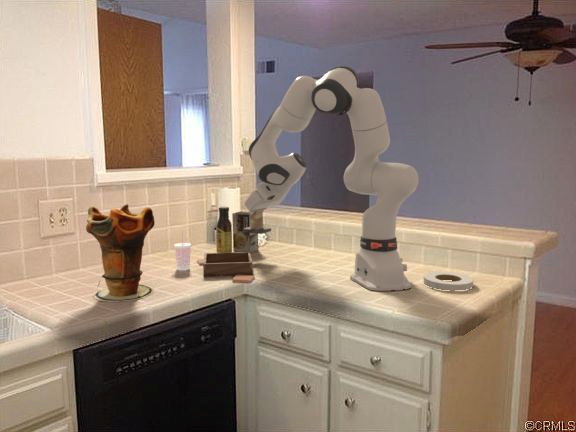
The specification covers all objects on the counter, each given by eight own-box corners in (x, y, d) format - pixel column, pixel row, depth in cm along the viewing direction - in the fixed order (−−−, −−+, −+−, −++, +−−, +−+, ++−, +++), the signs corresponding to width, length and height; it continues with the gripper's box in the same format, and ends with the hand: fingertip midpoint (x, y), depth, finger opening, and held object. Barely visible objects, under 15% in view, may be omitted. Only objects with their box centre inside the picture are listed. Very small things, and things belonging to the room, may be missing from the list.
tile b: (250, 284, 170) (250, 280, 170) (232, 283, 171) (232, 279, 171) (254, 279, 176) (254, 275, 176) (237, 278, 177) (237, 274, 177)
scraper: (271, 231, 202) (270, 205, 200) (261, 233, 197) (260, 207, 195) (252, 229, 207) (252, 204, 205) (242, 231, 202) (241, 206, 200)
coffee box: (258, 250, 219) (258, 212, 217) (249, 253, 214) (249, 214, 211) (241, 247, 224) (241, 210, 222) (232, 250, 219) (231, 212, 216)
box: (252, 275, 179) (252, 262, 179) (203, 276, 177) (203, 264, 176) (249, 263, 196) (249, 251, 195) (204, 265, 194) (204, 253, 193)
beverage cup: (194, 266, 191) (192, 229, 189) (189, 271, 185) (188, 232, 183) (177, 266, 192) (176, 229, 190) (172, 270, 186) (171, 232, 184)
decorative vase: (129, 277, 175) (128, 195, 170) (173, 293, 160) (172, 204, 155) (70, 292, 159) (66, 202, 154) (113, 311, 145) (110, 213, 139)
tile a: (215, 265, 195) (215, 261, 195) (199, 266, 193) (199, 262, 193) (212, 261, 201) (212, 258, 201) (197, 263, 199) (196, 259, 199)
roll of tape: (482, 286, 166) (482, 277, 166) (456, 296, 156) (456, 286, 156) (440, 276, 178) (440, 268, 177) (413, 285, 168) (413, 276, 167)
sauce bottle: (215, 254, 211) (214, 206, 208) (230, 253, 213) (229, 205, 210) (218, 258, 205) (217, 208, 202) (233, 257, 207) (232, 207, 204)
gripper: (285, 180, 203) (266, 203, 210) (254, 185, 187) (234, 210, 193) (295, 192, 202) (275, 214, 209) (264, 198, 185) (243, 222, 192)
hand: (255, 212), depth 201 cm, fingers closed on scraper, 4 cm apart
